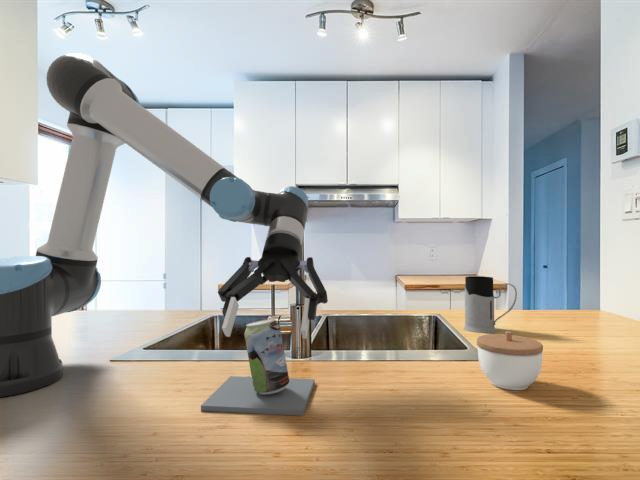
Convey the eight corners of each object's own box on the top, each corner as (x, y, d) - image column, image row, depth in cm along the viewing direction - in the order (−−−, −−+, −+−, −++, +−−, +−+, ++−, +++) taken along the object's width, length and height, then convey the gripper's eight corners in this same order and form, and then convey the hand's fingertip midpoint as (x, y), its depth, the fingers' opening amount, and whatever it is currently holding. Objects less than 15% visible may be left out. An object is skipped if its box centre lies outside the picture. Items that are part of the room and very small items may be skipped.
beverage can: (284, 399, 62) (280, 324, 62) (240, 397, 63) (237, 324, 63) (294, 384, 68) (291, 316, 68) (254, 383, 69) (251, 316, 69)
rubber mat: (200, 410, 60) (200, 405, 60) (230, 380, 73) (230, 376, 73) (302, 415, 58) (302, 410, 58) (314, 383, 71) (314, 379, 71)
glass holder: (468, 324, 118) (467, 275, 118) (519, 330, 110) (519, 277, 110) (459, 330, 111) (459, 278, 111) (514, 337, 103) (513, 280, 103)
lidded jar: (516, 400, 63) (516, 342, 63) (464, 379, 72) (464, 329, 72) (556, 388, 68) (556, 334, 68) (502, 370, 77) (502, 323, 77)
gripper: (344, 256, 82) (339, 347, 67) (230, 255, 85) (201, 342, 70) (342, 230, 76) (336, 323, 61) (221, 231, 80) (187, 319, 65)
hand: (264, 333), depth 66 cm, fingers open, 13 cm apart
